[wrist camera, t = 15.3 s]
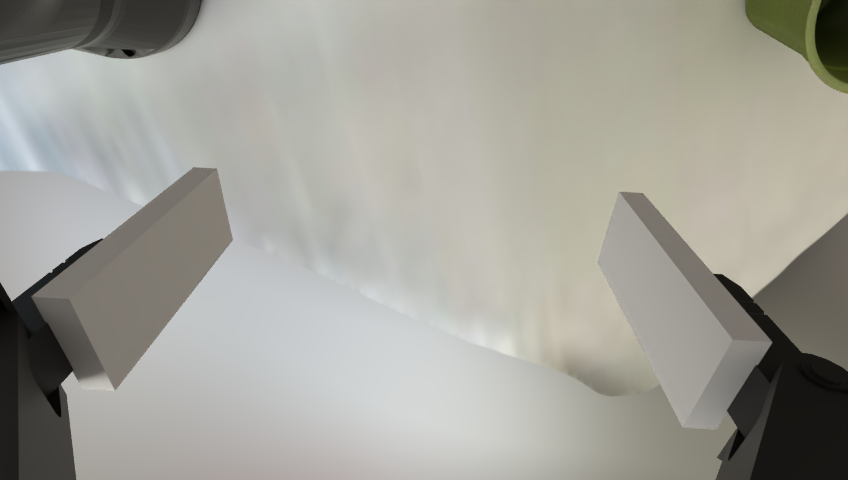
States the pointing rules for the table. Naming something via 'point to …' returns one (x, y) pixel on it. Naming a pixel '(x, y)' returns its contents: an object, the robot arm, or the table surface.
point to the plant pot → (809, 33)
